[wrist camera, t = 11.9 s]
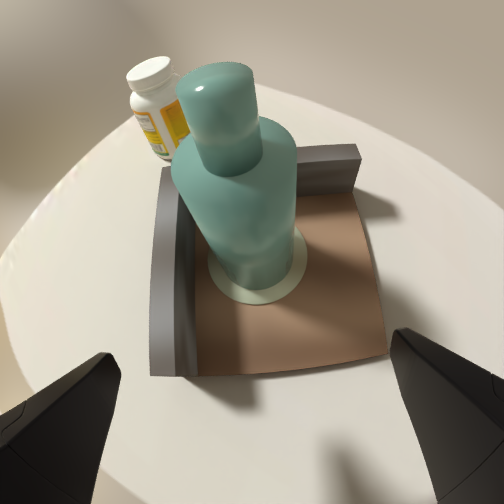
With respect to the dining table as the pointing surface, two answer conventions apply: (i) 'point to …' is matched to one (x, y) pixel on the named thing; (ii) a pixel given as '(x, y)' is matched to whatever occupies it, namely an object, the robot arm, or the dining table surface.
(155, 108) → the supplement bottle
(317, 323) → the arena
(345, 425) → the dining table surface
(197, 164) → the teal bottle
